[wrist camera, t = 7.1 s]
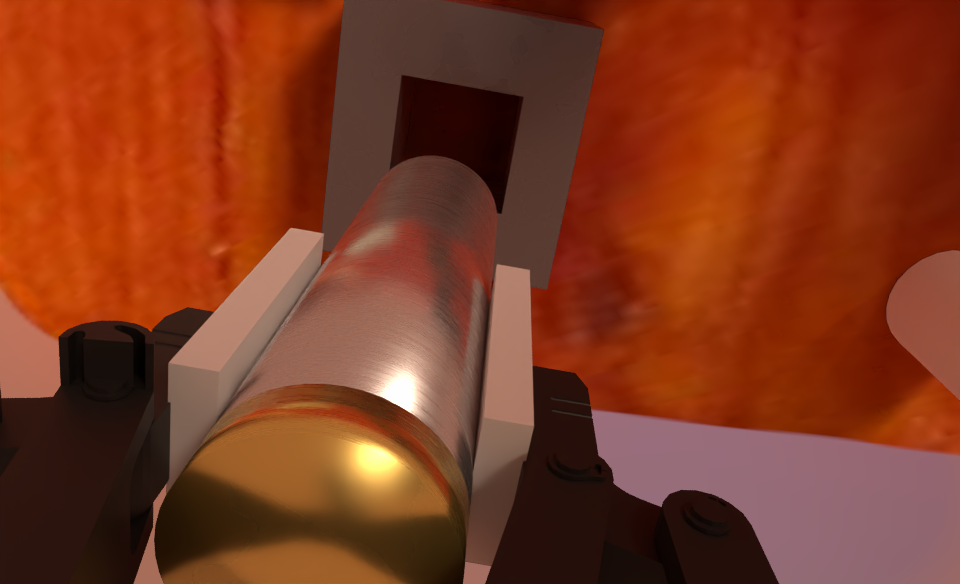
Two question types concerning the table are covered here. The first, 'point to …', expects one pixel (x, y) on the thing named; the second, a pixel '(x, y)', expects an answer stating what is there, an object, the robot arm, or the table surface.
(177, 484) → the gold capped cylinder
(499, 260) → the block
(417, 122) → the table surface
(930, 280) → the candle
